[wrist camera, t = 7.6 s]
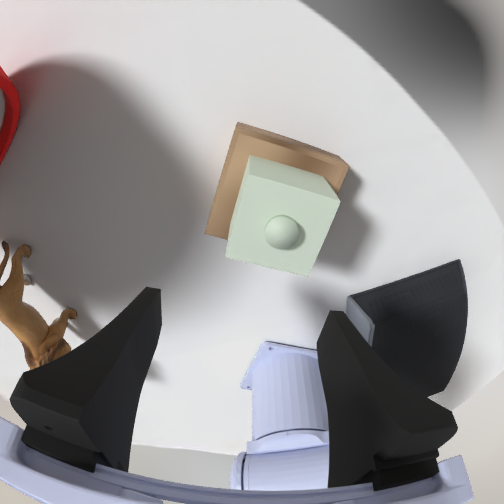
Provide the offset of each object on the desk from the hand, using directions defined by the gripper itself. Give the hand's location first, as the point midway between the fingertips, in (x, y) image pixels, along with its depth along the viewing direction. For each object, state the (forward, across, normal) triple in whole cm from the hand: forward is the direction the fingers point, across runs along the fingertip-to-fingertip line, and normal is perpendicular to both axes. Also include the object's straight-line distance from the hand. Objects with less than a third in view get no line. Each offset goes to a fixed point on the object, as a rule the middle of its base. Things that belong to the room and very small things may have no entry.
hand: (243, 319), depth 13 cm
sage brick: (+8, -1, -2) cm, 8 cm away
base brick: (+10, -1, -2) cm, 11 cm away
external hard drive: (+11, -19, +12) cm, 25 cm away
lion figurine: (+11, +18, +11) cm, 24 cm away
